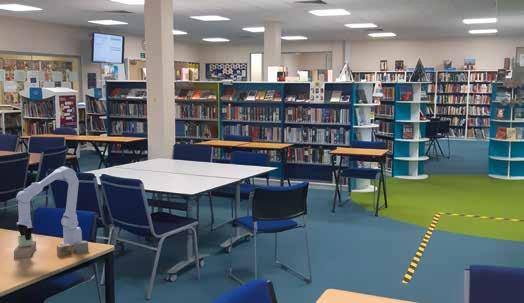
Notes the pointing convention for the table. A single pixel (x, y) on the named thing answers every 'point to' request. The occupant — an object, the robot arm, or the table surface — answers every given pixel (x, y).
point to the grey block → (81, 246)
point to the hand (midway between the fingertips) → (25, 238)
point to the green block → (24, 241)
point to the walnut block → (63, 249)
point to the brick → (24, 251)
